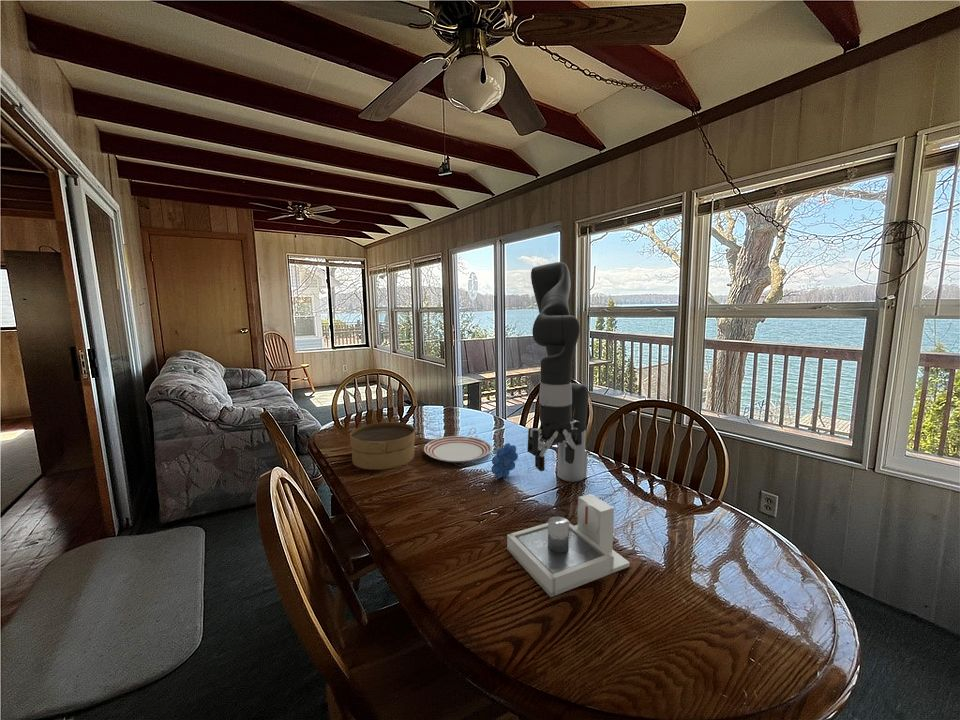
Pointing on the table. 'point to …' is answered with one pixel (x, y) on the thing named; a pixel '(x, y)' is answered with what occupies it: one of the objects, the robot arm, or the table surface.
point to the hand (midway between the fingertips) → (555, 466)
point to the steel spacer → (558, 534)
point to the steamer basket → (382, 445)
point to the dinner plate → (457, 449)
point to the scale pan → (558, 560)
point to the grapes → (504, 460)
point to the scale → (592, 530)
